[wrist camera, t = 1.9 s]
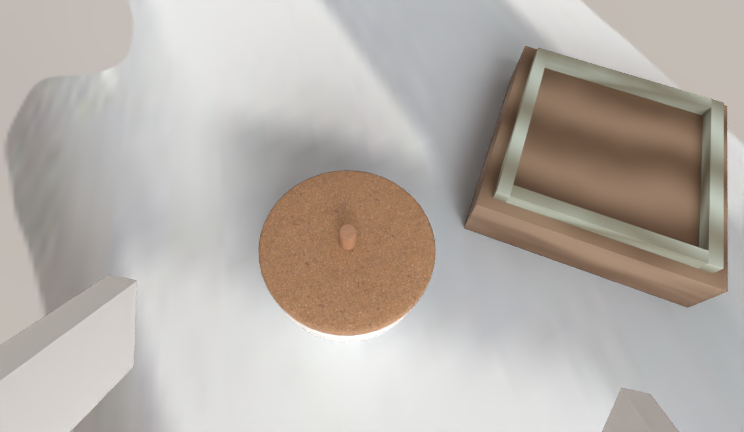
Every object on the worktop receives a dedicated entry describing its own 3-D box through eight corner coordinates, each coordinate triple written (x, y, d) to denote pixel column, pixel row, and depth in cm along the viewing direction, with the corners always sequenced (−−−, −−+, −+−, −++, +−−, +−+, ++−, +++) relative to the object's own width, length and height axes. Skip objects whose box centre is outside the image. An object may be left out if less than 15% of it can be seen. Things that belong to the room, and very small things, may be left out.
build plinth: (688, 307, 34) (738, 286, 30) (463, 228, 37) (480, 197, 32) (695, 134, 42) (735, 98, 38) (511, 78, 45) (529, 37, 40)
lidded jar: (259, 246, 35) (232, 183, 27) (385, 205, 37) (397, 135, 29) (301, 381, 30) (284, 356, 22) (441, 325, 33) (473, 283, 24)
